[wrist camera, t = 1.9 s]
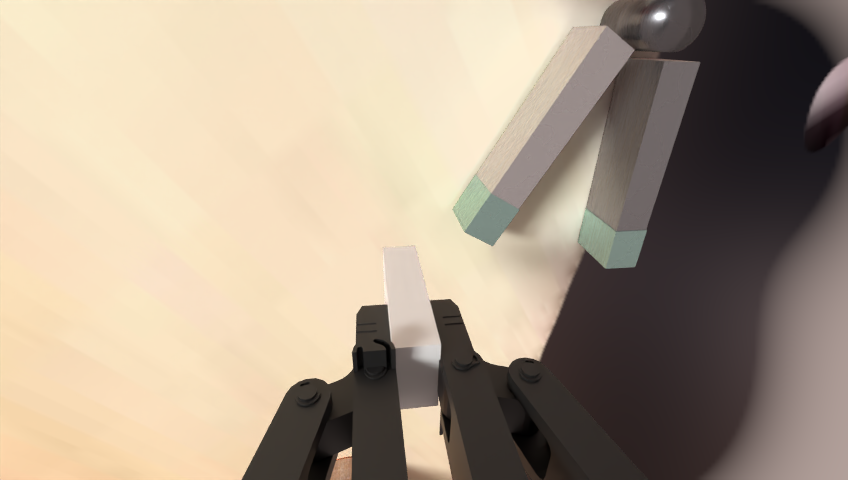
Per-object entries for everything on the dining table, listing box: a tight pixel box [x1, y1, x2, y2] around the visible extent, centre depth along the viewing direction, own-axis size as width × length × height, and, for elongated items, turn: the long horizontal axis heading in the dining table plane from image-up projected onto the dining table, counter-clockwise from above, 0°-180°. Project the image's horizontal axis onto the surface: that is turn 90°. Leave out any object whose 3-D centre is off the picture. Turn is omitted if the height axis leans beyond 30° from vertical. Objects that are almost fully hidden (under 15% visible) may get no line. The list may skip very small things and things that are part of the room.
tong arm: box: [453, 26, 634, 246], centre depth 26 cm, size 15×2×4 cm, turn 149°
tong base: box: [578, 0, 706, 269], centre depth 27 cm, size 18×5×6 cm, turn 179°
